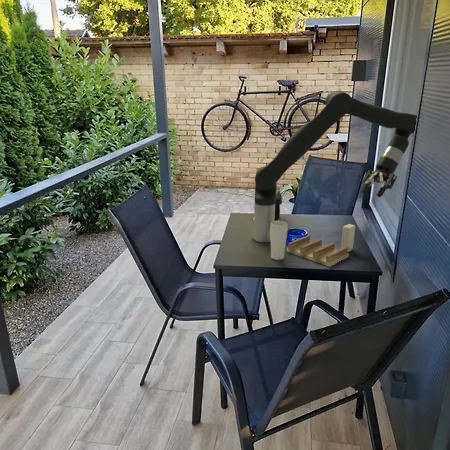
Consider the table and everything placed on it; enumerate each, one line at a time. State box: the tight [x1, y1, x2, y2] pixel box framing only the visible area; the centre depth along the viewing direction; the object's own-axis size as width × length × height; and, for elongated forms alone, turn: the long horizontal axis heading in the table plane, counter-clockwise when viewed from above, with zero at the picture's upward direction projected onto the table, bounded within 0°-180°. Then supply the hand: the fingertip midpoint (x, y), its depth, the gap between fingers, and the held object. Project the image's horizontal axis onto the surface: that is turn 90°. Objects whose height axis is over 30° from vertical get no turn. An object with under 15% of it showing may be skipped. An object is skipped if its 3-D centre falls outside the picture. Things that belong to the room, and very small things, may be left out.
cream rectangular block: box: [340, 223, 356, 253], centre depth 167 cm, size 3×5×11 cm, turn 134°
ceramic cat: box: [274, 183, 283, 221], centre depth 204 cm, size 20×6×20 cm, turn 179°
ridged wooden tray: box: [286, 234, 349, 267], centre depth 164 cm, size 21×14×4 cm, turn 44°
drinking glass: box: [270, 220, 288, 261], centre depth 158 cm, size 7×7×15 cm
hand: (370, 194), depth 161 cm, fingers open, 8 cm apart
